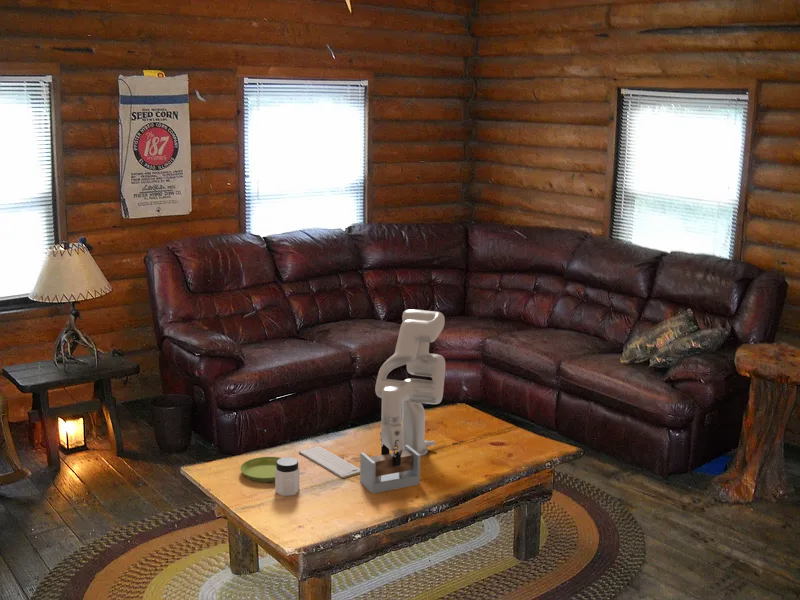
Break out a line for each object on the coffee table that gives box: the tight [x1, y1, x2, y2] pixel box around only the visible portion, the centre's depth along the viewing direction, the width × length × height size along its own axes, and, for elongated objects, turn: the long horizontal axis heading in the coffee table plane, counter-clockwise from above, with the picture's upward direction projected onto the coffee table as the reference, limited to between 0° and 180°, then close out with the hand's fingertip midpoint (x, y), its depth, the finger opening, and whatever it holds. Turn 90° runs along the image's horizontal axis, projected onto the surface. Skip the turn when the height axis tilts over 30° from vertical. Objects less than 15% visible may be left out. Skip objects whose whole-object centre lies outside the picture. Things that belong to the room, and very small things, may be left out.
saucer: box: [239, 456, 281, 483], centre depth 356 cm, size 21×21×3 cm
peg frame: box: [359, 445, 422, 494], centre depth 349 cm, size 20×11×12 cm, turn 116°
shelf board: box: [368, 451, 412, 477], centre depth 349 cm, size 16×5×6 cm, turn 117°
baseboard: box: [298, 445, 360, 480], centre depth 369 cm, size 31×3×12 cm
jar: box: [274, 456, 300, 497], centre depth 340 cm, size 9×8×12 cm
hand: (390, 460), depth 349 cm, fingers open, 9 cm apart
